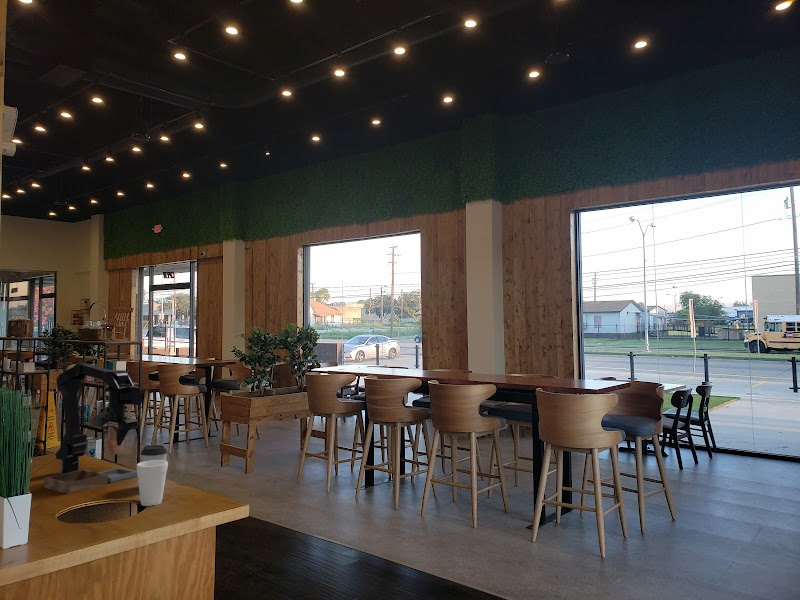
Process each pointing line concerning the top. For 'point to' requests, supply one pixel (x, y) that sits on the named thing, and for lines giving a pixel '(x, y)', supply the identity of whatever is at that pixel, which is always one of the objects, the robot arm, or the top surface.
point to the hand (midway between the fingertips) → (115, 444)
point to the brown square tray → (75, 481)
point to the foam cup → (151, 481)
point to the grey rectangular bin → (119, 475)
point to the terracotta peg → (114, 442)
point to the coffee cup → (153, 453)
